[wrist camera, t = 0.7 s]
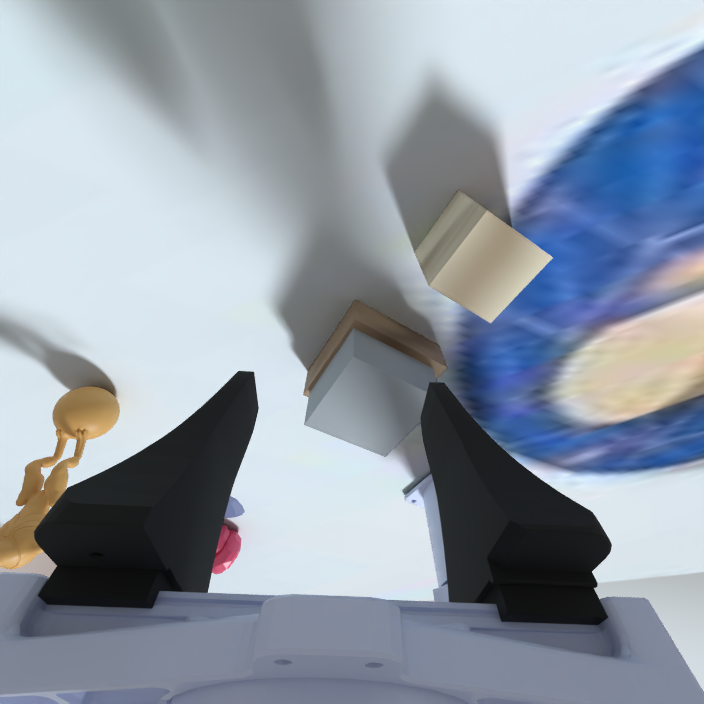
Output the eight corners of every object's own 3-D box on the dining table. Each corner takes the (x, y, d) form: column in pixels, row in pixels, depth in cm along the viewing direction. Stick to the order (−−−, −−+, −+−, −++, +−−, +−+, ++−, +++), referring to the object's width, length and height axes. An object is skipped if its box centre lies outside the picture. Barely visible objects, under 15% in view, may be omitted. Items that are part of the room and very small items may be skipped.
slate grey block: (433, 367, 22) (442, 399, 20) (382, 423, 25) (385, 456, 23) (353, 327, 20) (353, 356, 18) (309, 392, 23) (304, 424, 21)
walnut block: (438, 342, 24) (447, 367, 22) (384, 403, 28) (387, 430, 26) (355, 296, 22) (355, 319, 20) (308, 368, 26) (303, 394, 24)
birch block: (511, 228, 20) (553, 257, 15) (465, 283, 22) (490, 323, 17) (458, 189, 18) (487, 210, 14) (414, 251, 20) (428, 286, 16)
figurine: (147, 377, 26) (21, 535, 16) (169, 430, 30) (76, 587, 20) (39, 374, 26) (-153, 531, 16) (74, 428, 30) (-67, 584, 20)
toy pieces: (276, 511, 37) (267, 553, 34) (224, 547, 42) (211, 587, 38) (174, 464, 33) (151, 507, 29) (128, 510, 37) (104, 552, 34)
